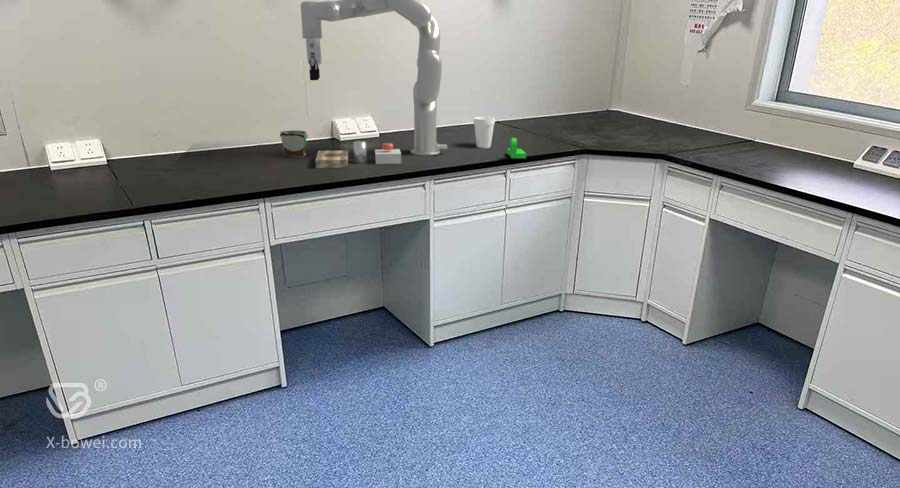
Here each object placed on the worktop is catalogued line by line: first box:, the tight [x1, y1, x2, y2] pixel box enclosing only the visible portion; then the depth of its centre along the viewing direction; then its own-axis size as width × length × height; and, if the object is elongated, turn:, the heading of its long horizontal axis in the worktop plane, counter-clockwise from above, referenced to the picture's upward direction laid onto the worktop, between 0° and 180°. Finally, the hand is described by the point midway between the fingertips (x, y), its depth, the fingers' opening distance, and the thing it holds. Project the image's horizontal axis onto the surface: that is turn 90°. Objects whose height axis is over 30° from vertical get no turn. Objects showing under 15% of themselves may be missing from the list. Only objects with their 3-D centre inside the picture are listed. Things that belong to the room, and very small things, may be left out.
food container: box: [279, 130, 308, 158], centre depth 252 cm, size 12×6×10 cm, turn 71°
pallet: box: [314, 149, 349, 169], centre depth 239 cm, size 12×20×3 cm, turn 8°
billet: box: [353, 140, 368, 164], centre depth 240 cm, size 5×5×8 cm
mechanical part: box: [506, 137, 527, 159], centre depth 257 cm, size 12×6×8 cm, turn 4°
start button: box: [381, 142, 394, 150], centre depth 241 cm, size 4×4×2 cm
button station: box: [374, 148, 402, 165], centre depth 242 cm, size 10×10×4 cm
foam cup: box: [473, 116, 496, 149], centre depth 274 cm, size 10×9×13 cm
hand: (315, 79), depth 245 cm, fingers open, 9 cm apart
